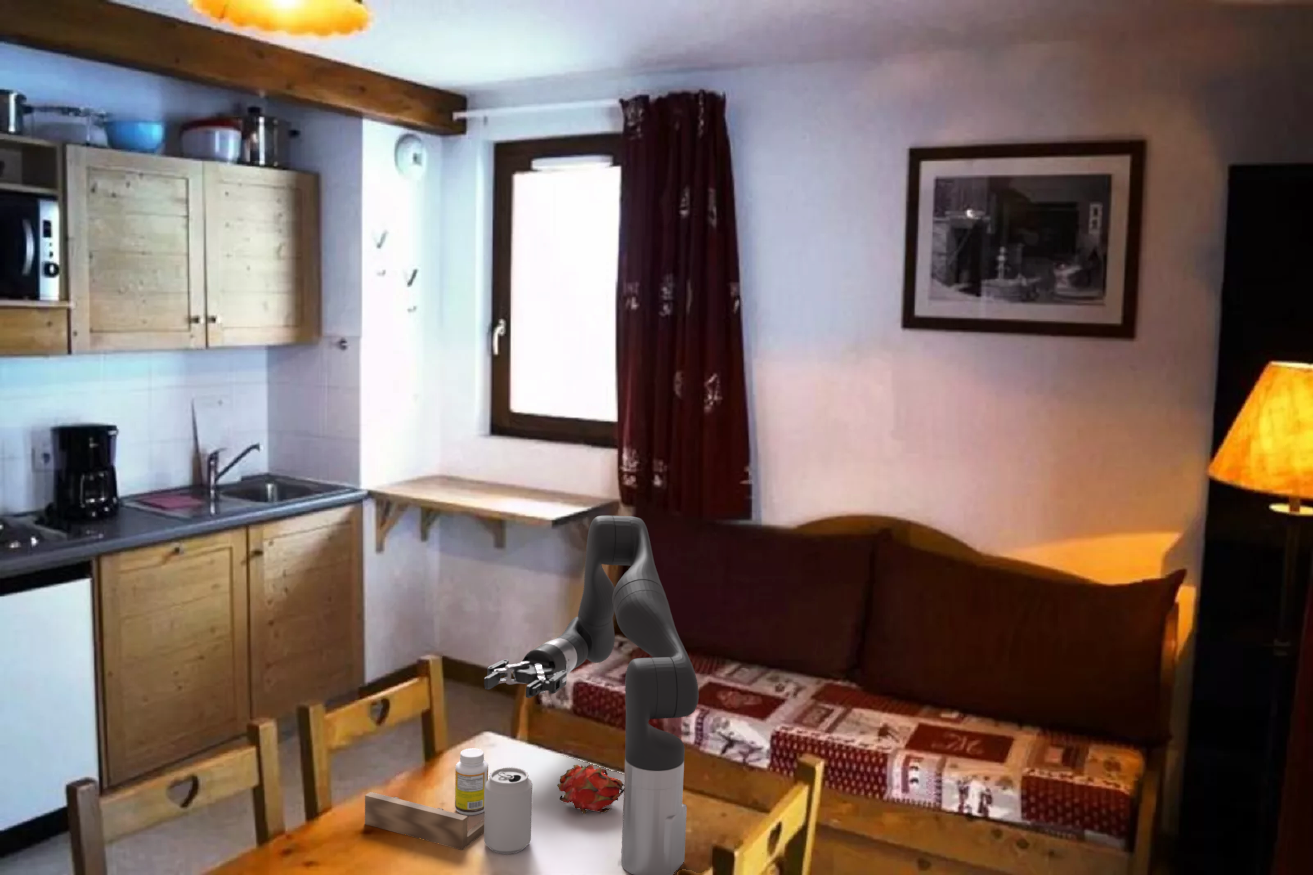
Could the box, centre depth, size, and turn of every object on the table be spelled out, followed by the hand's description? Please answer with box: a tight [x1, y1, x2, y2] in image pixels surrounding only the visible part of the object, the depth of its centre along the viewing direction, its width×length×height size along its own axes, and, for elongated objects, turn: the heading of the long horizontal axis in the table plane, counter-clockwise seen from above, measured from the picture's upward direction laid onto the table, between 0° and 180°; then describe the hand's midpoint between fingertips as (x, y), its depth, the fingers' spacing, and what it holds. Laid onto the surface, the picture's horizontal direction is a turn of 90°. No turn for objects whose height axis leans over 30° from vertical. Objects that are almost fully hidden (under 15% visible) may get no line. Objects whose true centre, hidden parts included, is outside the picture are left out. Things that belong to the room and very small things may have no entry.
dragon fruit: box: [557, 764, 624, 815], centre depth 191 cm, size 8×8×12 cm
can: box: [483, 766, 533, 855], centre depth 177 cm, size 8×8×12 cm
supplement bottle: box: [454, 747, 489, 816], centre depth 189 cm, size 6×6×10 cm
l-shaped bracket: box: [364, 791, 484, 851], centre depth 182 cm, size 19×8×5 cm, turn 67°
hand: (506, 688), depth 197 cm, fingers open, 8 cm apart
